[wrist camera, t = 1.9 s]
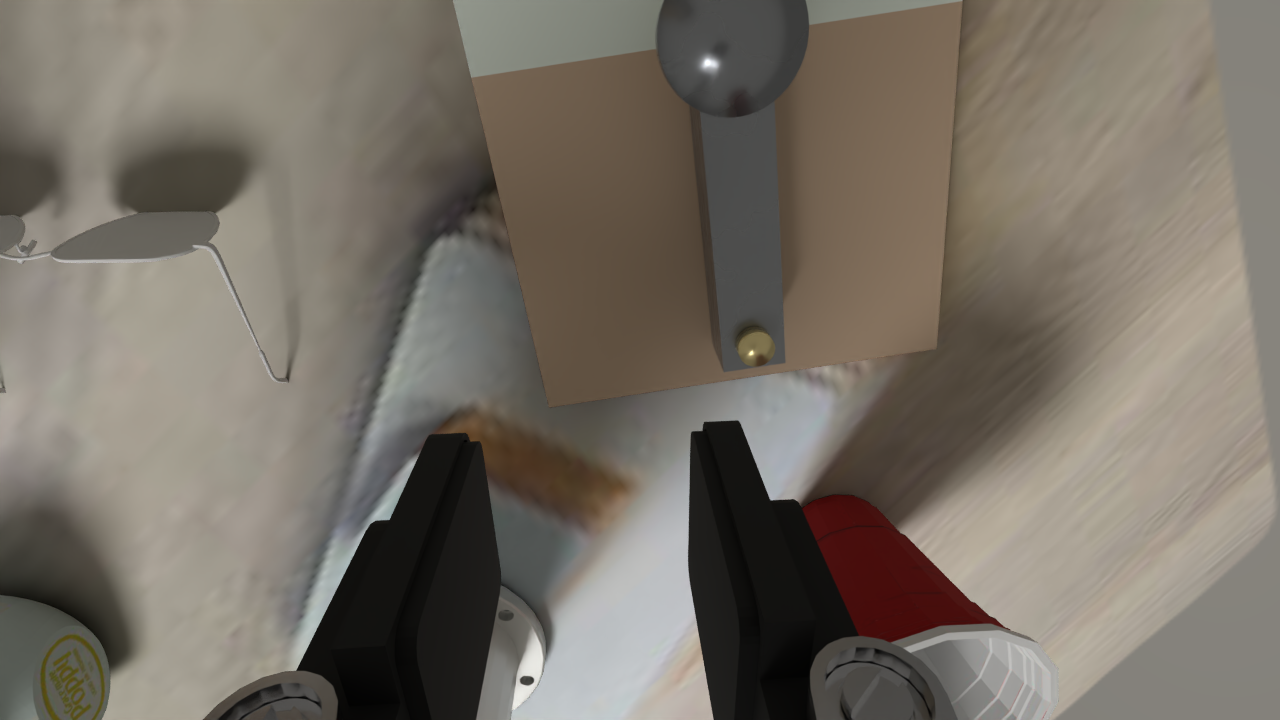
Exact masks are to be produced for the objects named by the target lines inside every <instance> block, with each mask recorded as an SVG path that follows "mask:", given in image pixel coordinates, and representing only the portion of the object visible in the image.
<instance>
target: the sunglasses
mask: <svg viewBox="0 0 1280 720" xmlns="http://www.w3.org/2000/svg"><path fill="white" fill-rule="evenodd" d="M219 224H220V222H219V218H218V216H217V215H216V214H215V213H213V212H212V211H205V212H152V213H148V212H142V213H138V214H134V215H130V216H127V217H123V218H120V219H117V220H114V221H111V222H108V223H105V224H102V225H100V226H97V227H95V228H92V229H90V230H88V231H85V232H83V233H81V234H79V235H77V236H75V237H73V238H71V239H69V240H67V241H66V242H64V243H62V244H60V245H59V246H57V247H56V248H55V249H54V250H52V251H49V252H45V253H40V254H36V255H32V256H29V254H30V253H31V252H32V250H33V249H34V247H35V246H36V243H37V241H35V240H32V241H31V242H30V244H29V245H28V247H26V246H24V245H23V246H21V247H19V246H18V244H19V243H20V242H21V240H22V238H23V236H24V233H25V224H24V222H23V220H22V219H21V218H20V217H18V216H16V215H9V216H0V257H2V258H6V259H10V260H18V263H20V264H23V263H24V262H25V260H33V259H37V258H41V257H45V256H49V255H51V256H52V258H53V259H54V260H56V261H58V262H63V263H118V262H152V261H160V260H165V259H171V258H175V257H179V256H183V255H186V254H188V253H191V252H193V251H195V250H197V249H199V248H202V249H206V250H208V251H209V252H210V253H211V254H212V256H213V258H214V259H215V261H216V263H217V265H218V267H219V270H220V272H221V274H222V276H223V278H224V280H225V282H226V284H227V286H228V288H229V290H230V292H231V294H232V296H233V298H234V300H235V302H236V304H237V306H238V308H239V310H240V312H241V315H242V317H243V319H244V321H245V323H246V325H247V327H248V329H249V331H250V333H251V335H252V337H253V339H254V341H255V343H256V345H257V347H258V349H259V355H260V357H261V359H262V361H263V363H264V365H265V367H266V369H267V371H268V373H269V375H270V377H271V378H272V379H273V380H274V381H276V382H280V383H288V380H287V378H280V379H279V378H276V377H275V376H274V374H273V372H272V370H271V368H270V366H269V363H268V361H267V359H266V356H265V354H264V352H263V351H262V350H261V349H260V346H259V344H258V342H257V339H256V337H255V335H254V332H253V330H252V328H251V325H250V323H249V321H248V318H247V316H246V314H245V311H244V309H243V307H242V304H241V302H240V300H239V297H238V295H237V293H236V290H235V288H234V286H233V283H232V281H231V279H230V276H229V274H228V272H227V269H226V267H225V265H224V262H223V260H222V258H221V255H220V254H219V252H218V250H217V248H216V247H215V246H214V245H213V244H211V243H209V242H208V241H209V240H210V239H211V238H212V237H213V236H214V235H215V234H216V232H217V230H218V228H219ZM14 245H15V246H16V248H17V250H18V252H19V253H21V254H22V255H21V257H18V256H11V255H7V254H3V252H5V251H7V250H8V249H10V248H11V247H13V246H14ZM0 393H6V391H5V388H0Z"/></svg>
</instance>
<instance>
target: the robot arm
mask: <svg viewBox="0 0 1280 720" xmlns="http://www.w3.org/2000/svg"><path fill="white" fill-rule="evenodd" d="M688 568H689V579H690V585H691V591H692V597H693V603H694V608H695V614H696V620H697V626H698V632H699V637H700V643H701V649H702V655H703V660H704V666H705V672H706V678H707V684H708V689H709V695H710V701H711V707H712V712H713V718H714V720H958V719H957V716H956V714H955V711H954V709H953V706H952V704H951V702H950V699H949V697H948V694H947V693H946V691H945V689H944V688H943V686H942V684H941V682H940V681H939V679H938V677H937V676H936V675H935V674H934V673H933V672H932V671H931V670H930V669H929V668H928V667H927V666H926V665H925V664H924V662H923V661H922V660H920V659H919V658H917V657H916V656H914V655H913V654H911V653H910V652H908V651H907V650H905V649H904V648H902V647H900V646H897V645H895V644H892V643H890V642H887V641H885V640H882V639H877V638H871V637H865V636H859V634H858V632H857V630H856V627H855V625H854V623H853V621H852V619H851V616H850V614H849V612H848V610H847V607H846V605H845V603H844V601H843V599H842V596H841V594H840V592H839V590H838V588H837V585H836V583H835V581H834V579H833V576H832V574H831V572H830V570H829V568H828V565H827V563H826V561H825V559H824V557H823V554H822V552H821V550H820V548H819V545H818V543H817V541H816V539H815V537H814V534H813V532H812V530H811V528H810V526H809V523H808V521H807V519H806V517H805V514H804V512H803V510H802V508H801V506H800V505H799V503H798V502H797V501H796V500H794V499H791V500H772V501H770V499H769V496H768V494H767V491H766V488H765V486H764V483H763V481H762V478H761V476H760V473H759V470H758V468H757V465H756V463H755V460H754V458H753V455H752V452H751V450H750V447H749V445H748V442H747V439H746V437H745V434H744V432H743V429H742V427H741V424H740V422H739V421H717V422H704V424H703V431H693V432H692V433H691V448H690V496H689V545H688ZM545 657H546V639H545V636H544V632H543V629H542V626H541V624H540V622H539V620H538V619H537V617H536V615H535V614H534V612H533V611H532V610H531V609H530V608H529V607H528V605H527V604H526V603H525V602H524V601H523V600H522V599H521V598H519V597H518V596H517V595H515V594H514V593H513V592H511V591H510V590H509V589H507V588H505V587H503V586H501V570H500V563H499V556H498V549H497V543H496V536H495V529H494V523H493V516H492V510H491V503H490V496H489V490H488V483H487V476H486V470H485V463H484V456H483V450H482V445H481V443H480V442H479V441H476V442H470V440H469V437H468V435H467V434H466V433H452V434H431V435H429V436H428V438H427V440H426V442H425V444H424V446H423V448H422V450H421V453H420V455H419V457H418V459H417V461H416V464H415V466H414V468H413V470H412V472H411V474H410V477H409V479H408V481H407V483H406V485H405V488H404V490H403V492H402V494H401V496H400V498H399V501H398V503H397V505H396V507H395V509H394V512H393V514H392V516H391V518H390V520H382V521H375V522H373V523H371V524H370V526H369V527H368V529H367V530H366V532H365V534H364V536H363V538H362V540H361V542H360V544H359V546H358V548H357V550H356V552H355V554H354V556H353V558H352V560H351V562H350V564H349V566H348V568H347V570H346V572H345V574H344V576H343V578H342V580H341V582H340V584H339V586H338V588H337V590H336V592H335V594H334V596H333V598H332V600H331V602H330V604H329V606H328V608H327V610H326V612H325V614H324V616H323V618H322V620H321V622H320V624H319V626H318V628H317V630H316V632H315V634H314V636H313V638H312V640H311V642H310V644H309V646H308V648H307V650H306V652H305V654H304V656H303V658H302V660H301V662H300V664H299V666H298V668H297V670H296V671H285V672H281V673H277V674H274V675H270V676H267V677H263V678H261V679H259V680H257V681H255V682H253V683H250V684H248V685H246V686H244V687H242V688H240V689H239V690H237V691H236V692H234V693H233V694H232V695H230V696H229V697H228V698H226V699H225V700H223V701H222V702H221V703H219V704H218V705H217V706H216V707H215V708H214V709H213V710H212V711H211V712H210V713H209V714H208V715H207V716H206V717H205V718H204V719H203V720H511V714H512V711H513V710H514V709H516V708H518V707H519V706H520V705H521V704H522V703H523V702H524V701H526V700H527V699H528V698H529V697H530V696H531V694H532V693H533V692H534V690H535V689H536V687H537V686H538V684H539V682H540V679H541V677H542V675H543V672H544V665H545Z"/></svg>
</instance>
